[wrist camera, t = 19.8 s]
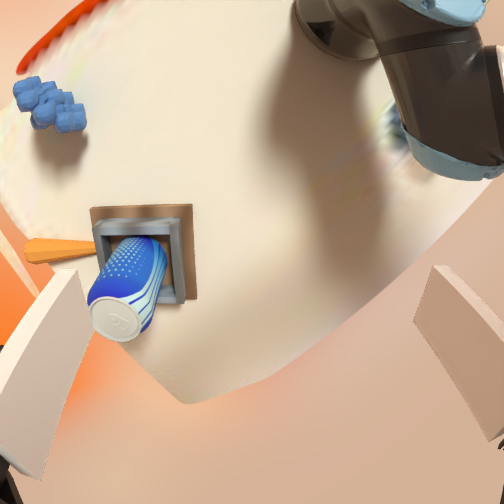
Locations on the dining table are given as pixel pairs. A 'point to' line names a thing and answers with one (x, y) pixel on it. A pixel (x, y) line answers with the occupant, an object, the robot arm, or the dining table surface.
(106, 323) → the beer can
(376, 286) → the dining table surface
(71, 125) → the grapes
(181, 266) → the holder
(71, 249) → the carrot
